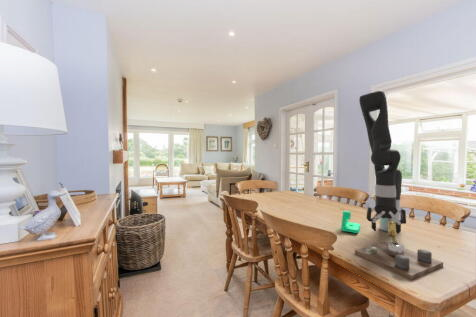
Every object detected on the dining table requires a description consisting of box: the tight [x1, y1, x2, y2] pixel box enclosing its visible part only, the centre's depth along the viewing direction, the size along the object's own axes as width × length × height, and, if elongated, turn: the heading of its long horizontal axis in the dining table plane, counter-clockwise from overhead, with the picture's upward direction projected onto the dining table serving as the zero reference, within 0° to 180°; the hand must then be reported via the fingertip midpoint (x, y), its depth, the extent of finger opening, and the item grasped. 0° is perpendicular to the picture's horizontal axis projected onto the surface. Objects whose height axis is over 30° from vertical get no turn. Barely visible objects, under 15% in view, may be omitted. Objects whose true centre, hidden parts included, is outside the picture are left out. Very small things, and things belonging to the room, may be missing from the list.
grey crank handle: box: [387, 221, 405, 257], centre depth 89 cm, size 14×5×10 cm, turn 151°
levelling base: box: [354, 241, 444, 281], centre depth 85 cm, size 20×21×5 cm
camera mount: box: [340, 210, 361, 234], centre depth 118 cm, size 12×8×10 cm, turn 144°
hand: (385, 231), depth 95 cm, fingers open, 8 cm apart
